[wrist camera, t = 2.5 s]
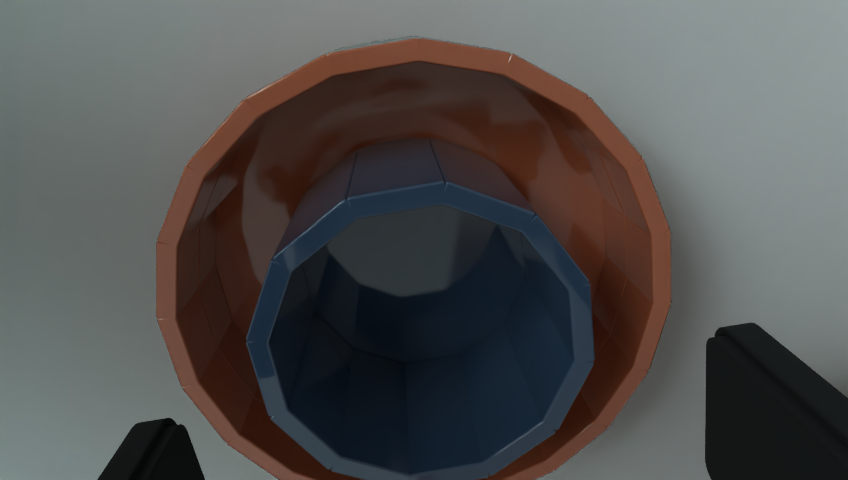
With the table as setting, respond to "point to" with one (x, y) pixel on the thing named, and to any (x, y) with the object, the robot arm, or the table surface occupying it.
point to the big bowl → (389, 120)
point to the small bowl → (420, 318)
